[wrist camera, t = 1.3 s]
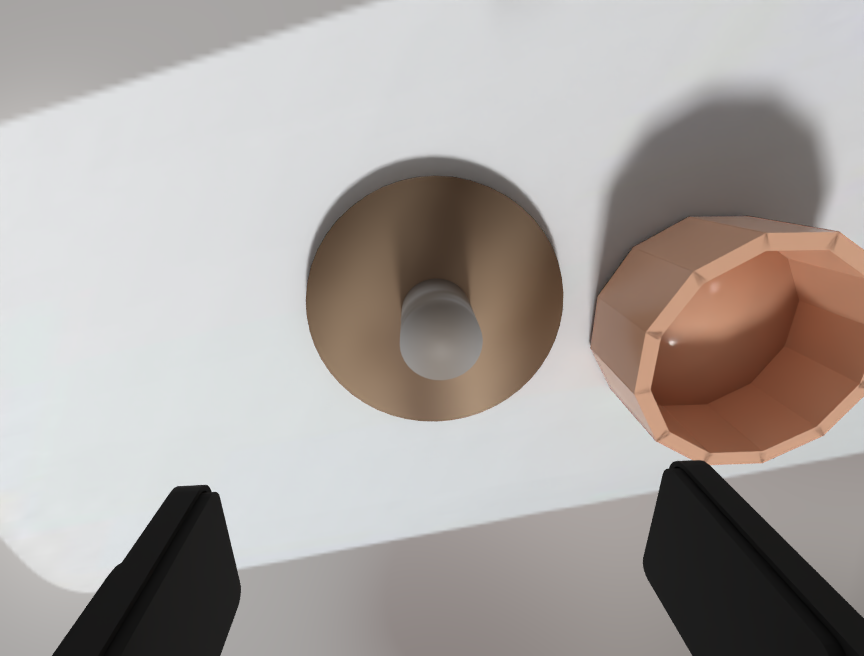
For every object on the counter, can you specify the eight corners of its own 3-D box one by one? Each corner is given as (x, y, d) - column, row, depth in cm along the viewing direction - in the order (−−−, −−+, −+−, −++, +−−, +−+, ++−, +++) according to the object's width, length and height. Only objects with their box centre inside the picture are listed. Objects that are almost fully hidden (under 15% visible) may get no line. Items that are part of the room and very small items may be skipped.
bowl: (825, 214, 22) (938, 230, 17) (764, 405, 26) (842, 460, 21) (608, 217, 21) (663, 234, 17) (581, 411, 25) (619, 468, 21)
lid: (569, 174, 21) (615, 178, 16) (545, 408, 25) (575, 464, 21) (296, 176, 20) (261, 182, 16) (323, 414, 25) (303, 473, 20)
